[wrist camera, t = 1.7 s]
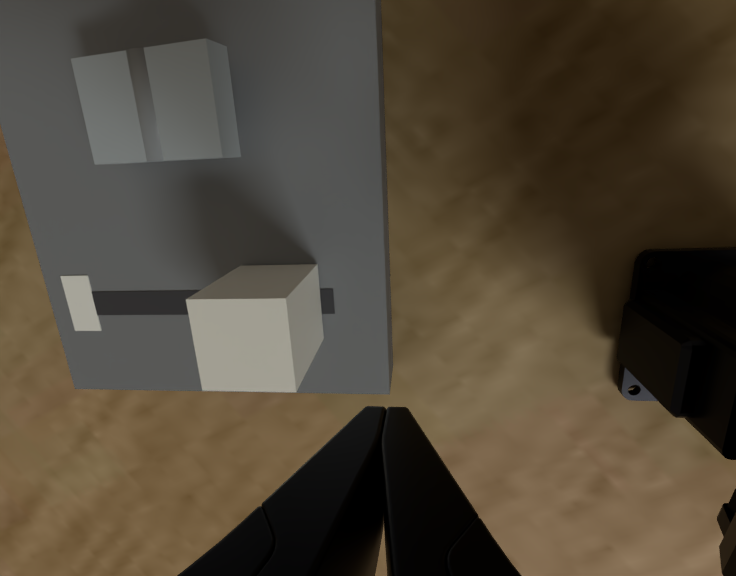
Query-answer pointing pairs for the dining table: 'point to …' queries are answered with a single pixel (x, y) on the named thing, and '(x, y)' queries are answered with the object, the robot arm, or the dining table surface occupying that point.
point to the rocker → (159, 103)
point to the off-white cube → (257, 328)
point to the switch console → (206, 184)
